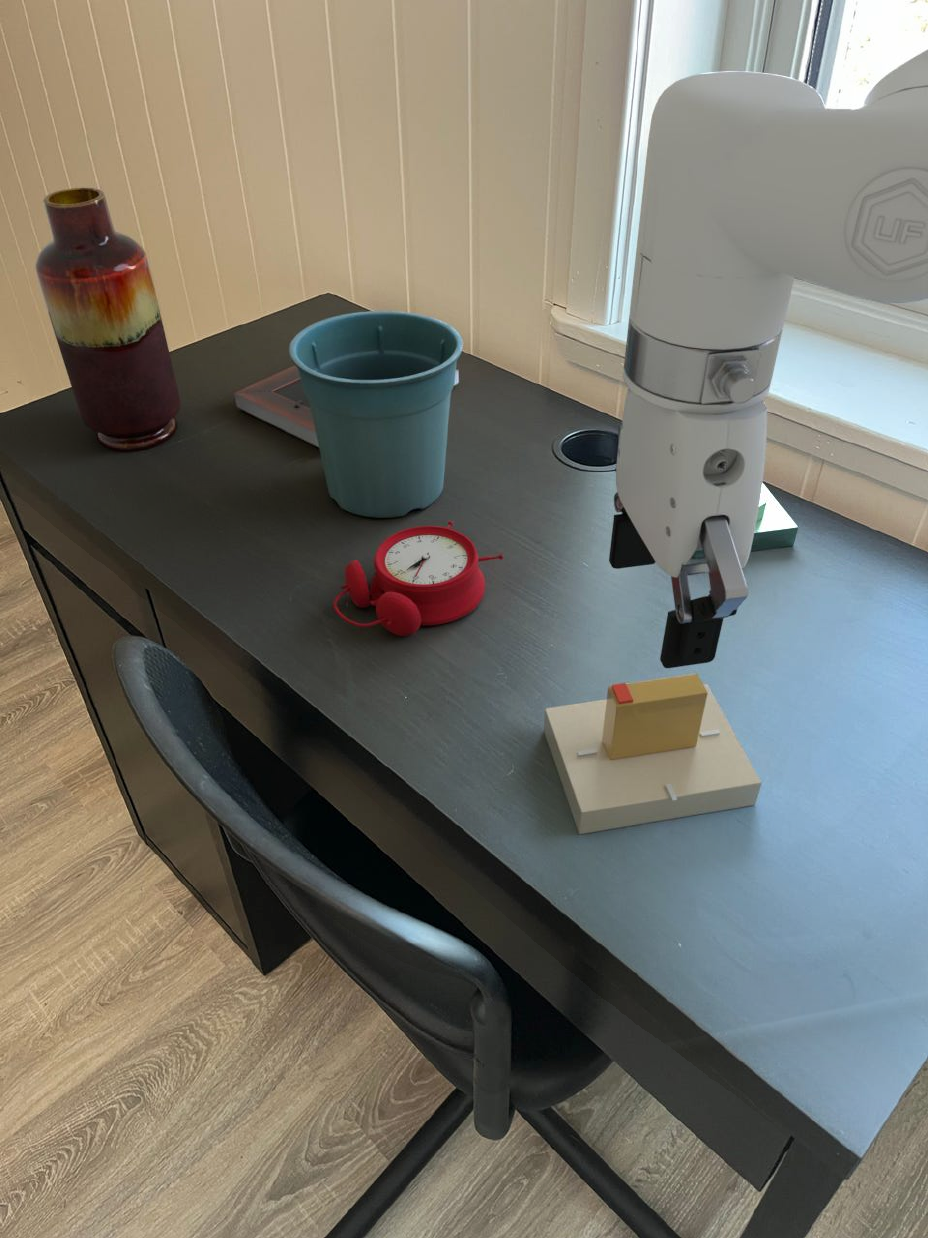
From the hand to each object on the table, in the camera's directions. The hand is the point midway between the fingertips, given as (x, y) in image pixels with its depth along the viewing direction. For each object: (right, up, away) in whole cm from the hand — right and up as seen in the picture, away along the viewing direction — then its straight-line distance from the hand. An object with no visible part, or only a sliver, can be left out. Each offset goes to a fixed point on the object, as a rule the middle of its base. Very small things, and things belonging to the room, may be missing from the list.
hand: (657, 610), depth 59 cm
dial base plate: (+1, -12, +11) cm, 16 cm away
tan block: (+1, -10, +9) cm, 13 cm away
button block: (+14, +9, +34) cm, 38 cm away
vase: (-50, +21, +51) cm, 74 cm away
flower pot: (-20, +13, +41) cm, 47 cm away
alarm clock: (-17, +1, +26) cm, 31 cm away
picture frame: (-26, +26, +56) cm, 67 cm away
